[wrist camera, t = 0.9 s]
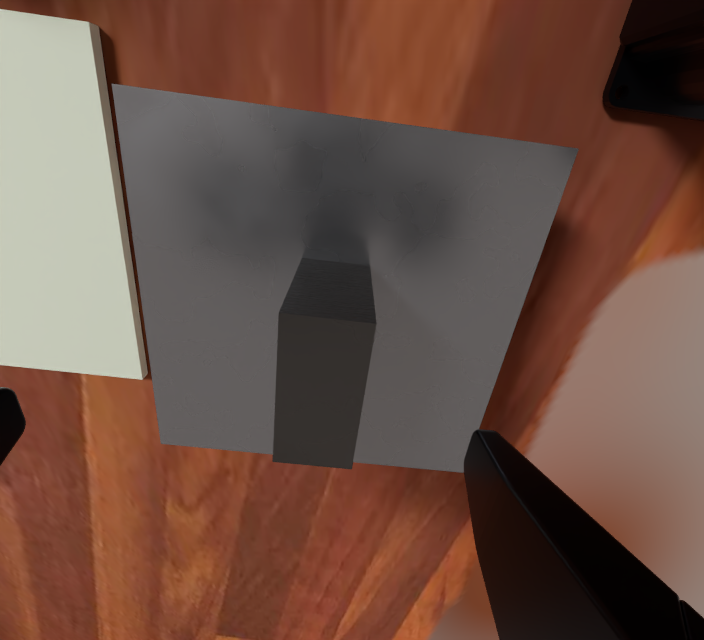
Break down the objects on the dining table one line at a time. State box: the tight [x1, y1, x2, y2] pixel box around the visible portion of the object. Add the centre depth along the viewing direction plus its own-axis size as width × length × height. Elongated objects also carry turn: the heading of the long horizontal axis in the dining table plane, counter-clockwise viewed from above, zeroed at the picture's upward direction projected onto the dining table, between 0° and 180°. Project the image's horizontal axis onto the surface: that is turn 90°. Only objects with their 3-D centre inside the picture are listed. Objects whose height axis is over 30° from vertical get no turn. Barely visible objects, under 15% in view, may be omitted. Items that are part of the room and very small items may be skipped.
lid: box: [112, 84, 578, 473], centre depth 13 cm, size 14×14×6 cm
